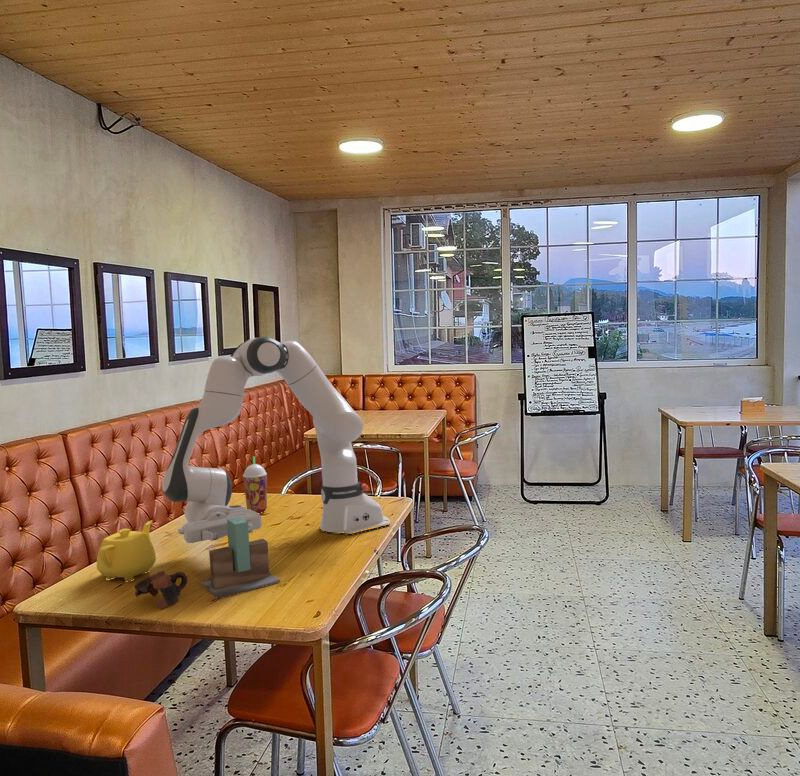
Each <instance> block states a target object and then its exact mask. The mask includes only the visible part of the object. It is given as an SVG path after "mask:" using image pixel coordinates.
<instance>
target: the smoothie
mask: <svg viewBox="0 0 800 776" xmlns="http://www.w3.org/2000/svg"><path fill="white" fill-rule="evenodd" d="M242 480H243V487H244V494H245V503H246V504H245V505H246V509H250V510H253V511H255V512H257V513H261V512H264V511H265V512H266V510H267V507H268V505H267V504H268V503H267V502H268V498H267V497H268V484H267V483H268V473H267V472H266V470H265V468H264V467H263V466H262V465H261V464H258V463H256V456H252V464H249V465H248V466H247V467H246V468H245V470H244V471H243V474H242ZM265 512H264V513H265ZM261 514H262V513H261Z"/></svg>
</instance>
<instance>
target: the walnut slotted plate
mask: <svg viewBox="0 0 800 776" xmlns="http://www.w3.org/2000/svg"><path fill="white" fill-rule="evenodd" d="M268 544H269V543H268V541H267V540H266V539H264V538H260V539H256V540H251V541H250V540H249V550H250V566H251V569H250V570H246V571H242V572H237V571H236V570H235V569H233V559H232V549H231V548H229V546H224V547H220V548H219V547H218V548H214V549H211V550H208V553H209V554H208V555H209V556H208V557H209V572H210V579H209V580H204V581H202V582H201V585H202V586H203V587H204V586H205V587H206V588H207V589H208V590H207V589H206V588H205V587H204V588H205V589H206V590H207V591H208V592H209V593H210V594H212V596H213V597H215V598H216V597H217V598H220V599H223V598H222V597H224V598H226V596H227V597H230V596H229V595H231V596H234V595H233V594H235V595H238V594H237V593H239V594H241V592H243V593H246V592H249V590H250V591H253V589H254V590H257V589H256V588H258V589H260V588H259V587H261V588H264V587H263V586H265V587H267V586H266V585H269V586H272V585H271V584H273V585H275V584H274V583H276V584H279V583H278V582H280V583H281V579H279V577H276V576H275V574H273V573H271V572H270V562H269V561H270V560H269V547H268ZM245 591H246V592H245ZM217 598H216V599H217Z"/></svg>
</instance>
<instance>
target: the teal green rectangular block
mask: <svg viewBox="0 0 800 776" xmlns="http://www.w3.org/2000/svg"><path fill="white" fill-rule="evenodd" d="M227 531H228V535H227V542H228V543H227V544H228V546H227V547H229V548H231V549H232V559H233V569H235V570H236V571H237V572H242V571H246V570H250V569H251V566H250V550H249V542H250V536H249V534H250V533H248V522H247V521H245V520H244V519H242V518H240V517H236V518H230V519H227Z"/></svg>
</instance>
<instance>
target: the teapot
mask: <svg viewBox="0 0 800 776" xmlns="http://www.w3.org/2000/svg"><path fill="white" fill-rule="evenodd" d="M152 523H153V520H149V521H147V522H146V523H145V524H144V525H143V528H142V531H135V530H133V531H132V530H131V528H121V529H119V530H118V531H117V532H116V533H114V534H110V535H109V536H106V537H104V538H103V540H102V542H101V544H100V547H99V549H98V553H97V557H96V569H97V571H98V572H99V573H100V574H101V575H102V576H104V577H105V579H106V578H107V579H111V578H114V577H116V578H123V579H124V580H125V581H131V580H133V579H135V576H138V575H141V573H145V572H148V571H149V570H150V569H151V568H153V566H154V564H155V563H156V559H157V555H156V550H155V547H154V545H153V543H152V541H151V535H150V527H151V525H152ZM145 574H146V573H145ZM131 582H132V581H131Z"/></svg>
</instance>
